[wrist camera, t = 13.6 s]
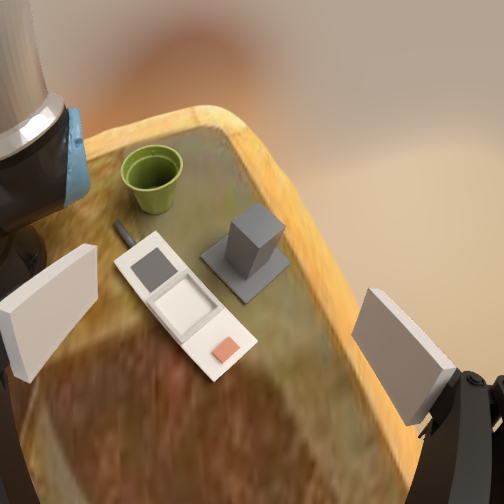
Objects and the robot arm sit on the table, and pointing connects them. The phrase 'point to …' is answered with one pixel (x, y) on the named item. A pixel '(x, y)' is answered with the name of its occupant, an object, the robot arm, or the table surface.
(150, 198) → the plant pot
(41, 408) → the table surface
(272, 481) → the table surface
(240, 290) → the pad
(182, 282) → the white slab
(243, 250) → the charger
